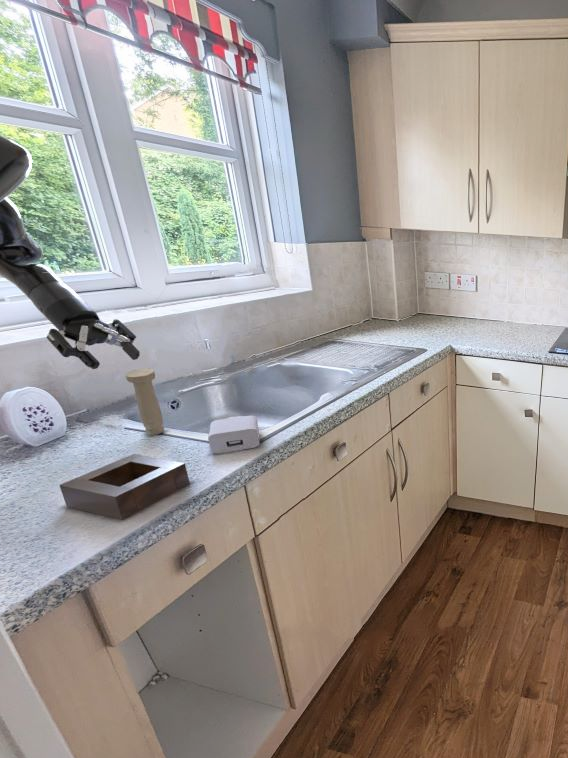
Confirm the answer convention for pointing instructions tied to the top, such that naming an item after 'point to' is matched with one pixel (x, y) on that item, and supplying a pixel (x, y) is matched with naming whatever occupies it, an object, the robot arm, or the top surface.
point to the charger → (233, 434)
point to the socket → (125, 486)
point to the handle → (147, 400)
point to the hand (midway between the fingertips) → (117, 361)
